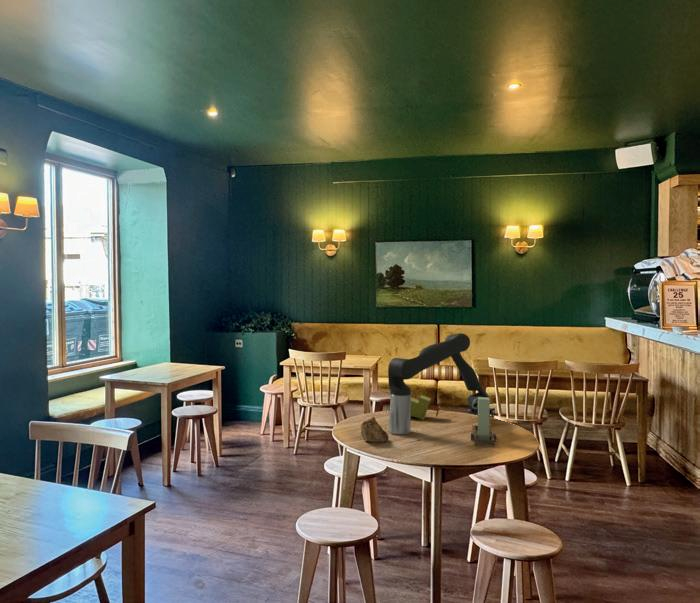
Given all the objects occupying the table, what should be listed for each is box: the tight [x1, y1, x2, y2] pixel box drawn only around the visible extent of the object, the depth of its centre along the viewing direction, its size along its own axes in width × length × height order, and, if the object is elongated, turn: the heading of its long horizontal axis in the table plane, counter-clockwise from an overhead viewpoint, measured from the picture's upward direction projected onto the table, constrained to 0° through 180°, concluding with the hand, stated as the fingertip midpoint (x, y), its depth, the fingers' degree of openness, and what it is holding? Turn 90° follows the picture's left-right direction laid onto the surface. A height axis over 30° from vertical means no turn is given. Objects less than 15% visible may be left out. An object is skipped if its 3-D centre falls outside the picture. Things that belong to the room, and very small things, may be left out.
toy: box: [411, 394, 441, 421], centre depth 256 cm, size 9×12×20 cm
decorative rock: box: [360, 416, 390, 443], centre depth 213 cm, size 12×6×11 cm, turn 105°
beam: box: [470, 425, 497, 448], centre depth 218 cm, size 24×10×3 cm, turn 169°
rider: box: [477, 397, 491, 440], centre depth 215 cm, size 6×5×17 cm
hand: (482, 414), depth 224 cm, fingers closed
